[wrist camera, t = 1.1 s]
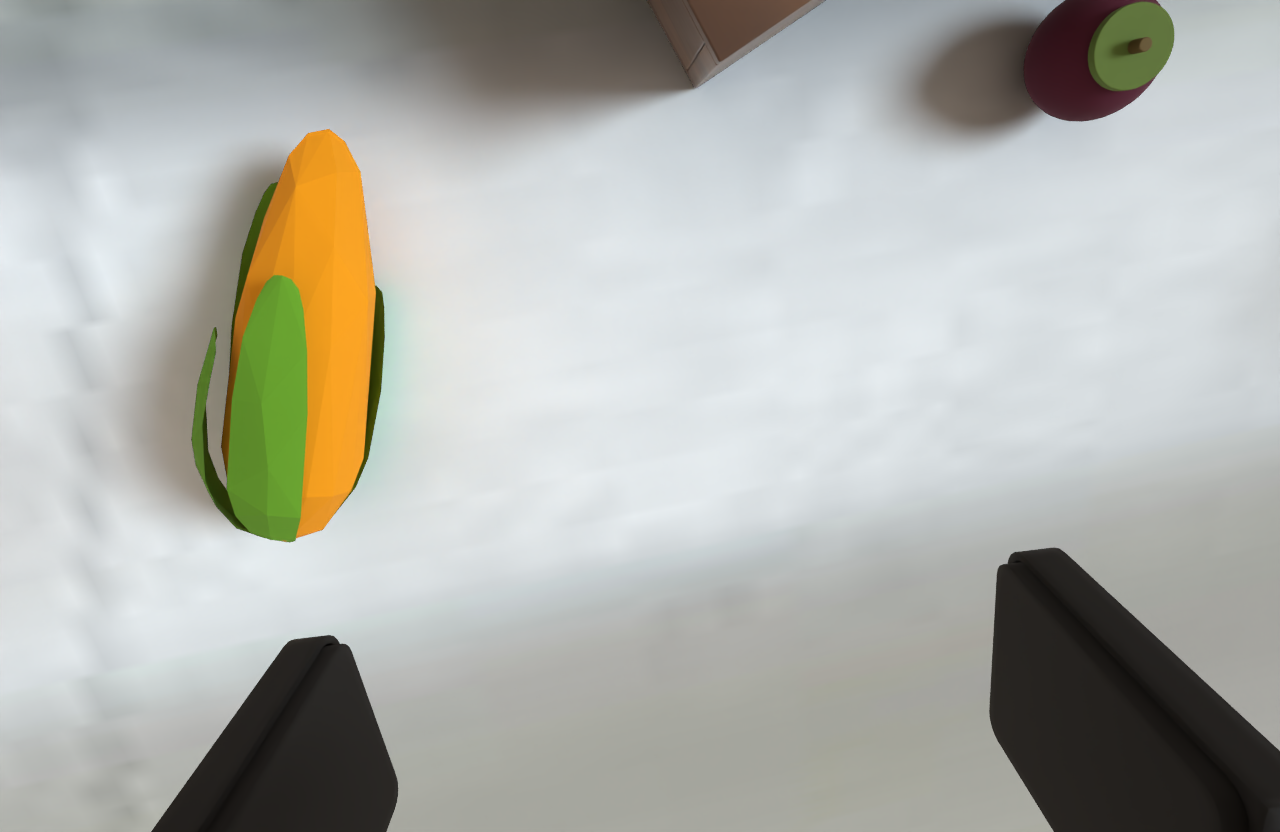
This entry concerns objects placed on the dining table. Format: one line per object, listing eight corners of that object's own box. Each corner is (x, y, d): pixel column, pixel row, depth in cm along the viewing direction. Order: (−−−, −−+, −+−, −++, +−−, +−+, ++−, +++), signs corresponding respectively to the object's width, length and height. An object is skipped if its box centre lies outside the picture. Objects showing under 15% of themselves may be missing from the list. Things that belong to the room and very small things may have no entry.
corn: (154, 565, 31) (163, 92, 24) (234, 486, 38) (259, 103, 31) (325, 594, 32) (380, 151, 25) (372, 511, 39) (425, 149, 32)
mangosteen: (982, 43, 30) (1058, 19, 25) (1090, -26, 30) (1194, -67, 24) (1022, 145, 32) (1102, 144, 27) (1126, 83, 31) (1231, 68, 26)
